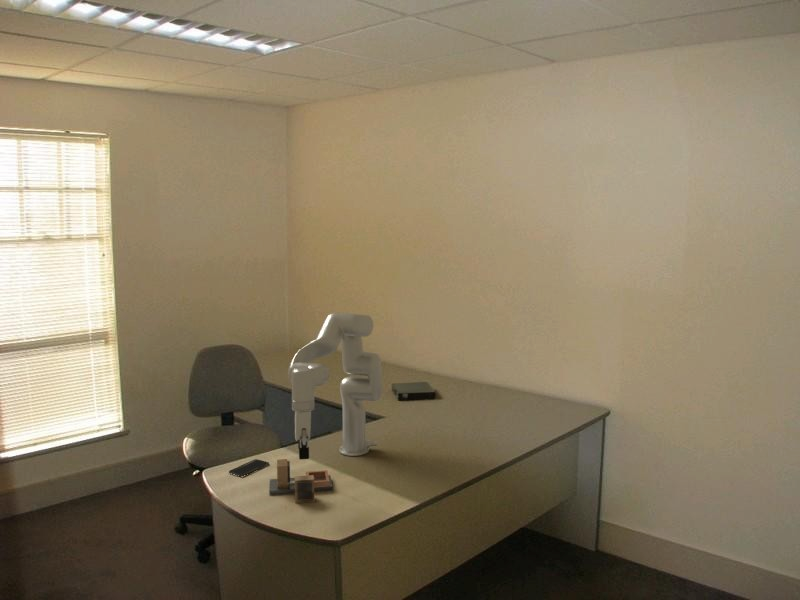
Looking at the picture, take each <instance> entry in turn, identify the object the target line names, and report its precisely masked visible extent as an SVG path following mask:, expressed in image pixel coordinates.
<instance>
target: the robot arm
mask: <svg viewBox="0 0 800 600" xmlns="http://www.w3.org/2000/svg"><path fill="white" fill-rule="evenodd" d="M373 329H374V319H372V317H371V316H370V315H368V314H359V313H347V312H346V313H345V312H332V313H329V314H328V315H327V317H326V318H325V319H324V321H323V324H322V326H321V328H320V330H319V332H318V334H317V336H316V338H315V339H314V340H312V341H310V342H309V343H307V344H306V345H304V346H302V347H300V348H299V350H297V352H296V353H295V354H294V356H293V358H292V360H291V362H290V364H289V367H288V369H287V370H288V371H287V377H288V379H289V381H290V382H291V410H292V411H293V412H294V438H295V441H296V442H297V441H298V457H299V460H309V459H310V447H309V440H311V427H312V411H314V410H315V409H316V407H315V387H321V386H323V385H325V384H327V382H328V381H329V378H330V377H331V373H330V369H329V367H328V366H327V365H325V364H323V363H316V362H311V361H314V360H317V359H320V358H324V357H325V358H326V357H327V356H331V355H332V354H334V353H335V352H336V351H337V350H338V348H339V346H340V343H341V357H342V358H341V360H342V361H341V362H342V369H343V372H344V373H345V374H348V375H349V376H346V377H344V378H343V379H342V380H341V381H340V384H339V392H340V396H341V397H340V398H341V404H342V406H341V407H342V445H340V446H339V448H338V452H339V453H340V454H341V455H344V456H349V457H355V456H356V457H357V456H358V457H359V456H363V455H366V454H367V453H369V451H370V447H377V446H378V442H377V441H374V440H368V439H366V408H365V404H364V403H363V402H362V401H364V402H378V401H379V400H380V399H381V398H382V395H383V369H382V368H383V367H382V359H381V357H380V355H379V354H378V353H377V352H372V351H371V352H370V351H369V352H368V351H364V349H363V348H364V347H363V346H364V345H363V339H362V338H365V337H366V338H368V336H370V335H371V334H372V332H373V331H374V330H373ZM351 375H353V376H351Z"/></svg>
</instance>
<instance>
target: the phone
mask: <svg viewBox="0 0 800 600" xmlns="http://www.w3.org/2000/svg"><path fill="white" fill-rule="evenodd" d="M268 466H270V462H268V461H266V460H265V461H264V460H262V459H257V458H256V459H255V458H254V459H252V460H250V461H248V462H246V463H244V464H241V465H239V466H237V467H235V468H232V469H230V470H228V474H229V473H232V474H235V475H239V476H244V475H247V474H250V473H252V472H254V471H256V470H258V471H260V470H262V469H265V468H266V467H268ZM261 468H262V469H261ZM259 469H260V470H259ZM256 472H257V471H256ZM254 473H255V472H254ZM252 474H253V473H252ZM235 475H234V476H235ZM250 475H251V474H250ZM247 476H248V475H247Z"/></svg>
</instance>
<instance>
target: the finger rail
mask: <svg viewBox="0 0 800 600" xmlns="http://www.w3.org/2000/svg"><path fill="white" fill-rule="evenodd" d="M290 462H291V461H290V460H288V459H287V458H286V459H285V458H283V459H282V458H281V459H276V471H277V472H276V475H277V477H276V478H273V479H272V478H270V479H269V490H268V491H269V492H268V495H269V496H274V495H276V496H277V495H289V494H295V477H291V464H290ZM309 475H314V493H315V492H326V491H327V492H328V491H333V484H332V483H333V482H332V477H331V474H329V471H328V470H327V469H325V470H324V469H323V470H312V471H310V470H309V471H305V476H309Z"/></svg>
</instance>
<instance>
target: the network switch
mask: <svg viewBox="0 0 800 600" xmlns="http://www.w3.org/2000/svg"><path fill="white" fill-rule="evenodd" d="M391 392H392V393H393V395H394V396H395V397H396V399H397V401H400V402H402V401H403V402H404V401H414V400H415V401H416V400H417V401H418V400H423V399H428V400H435V399H436V396H437V394H436V390H435V389H434V388H433V386H432V385H431V383H429V382H428V381H415V382H398V383H397V382H394V383H392V384H391Z"/></svg>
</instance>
